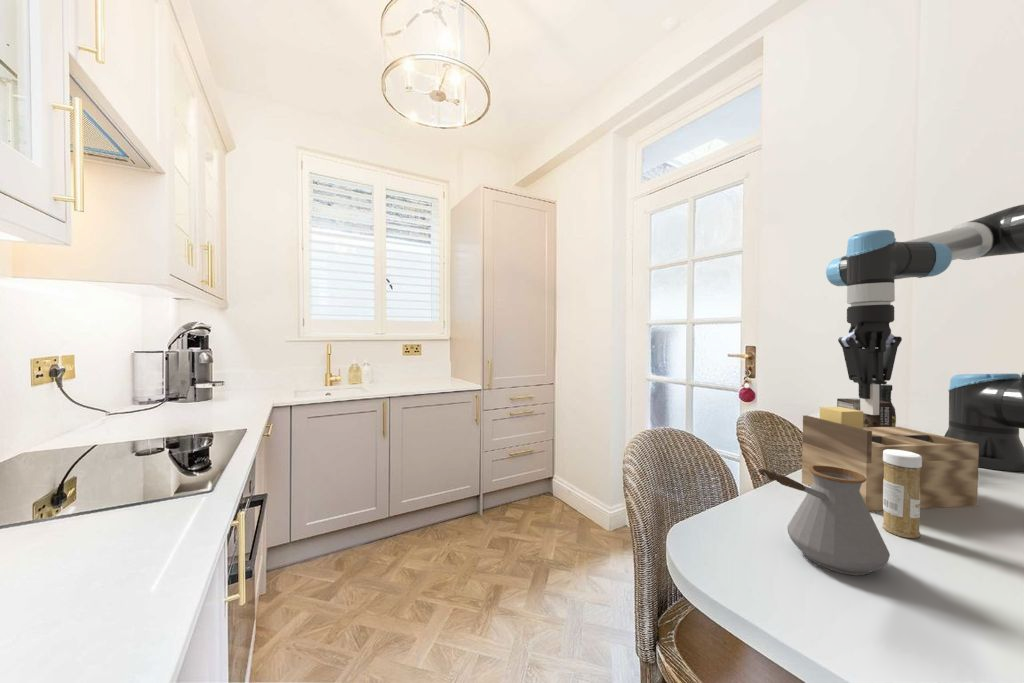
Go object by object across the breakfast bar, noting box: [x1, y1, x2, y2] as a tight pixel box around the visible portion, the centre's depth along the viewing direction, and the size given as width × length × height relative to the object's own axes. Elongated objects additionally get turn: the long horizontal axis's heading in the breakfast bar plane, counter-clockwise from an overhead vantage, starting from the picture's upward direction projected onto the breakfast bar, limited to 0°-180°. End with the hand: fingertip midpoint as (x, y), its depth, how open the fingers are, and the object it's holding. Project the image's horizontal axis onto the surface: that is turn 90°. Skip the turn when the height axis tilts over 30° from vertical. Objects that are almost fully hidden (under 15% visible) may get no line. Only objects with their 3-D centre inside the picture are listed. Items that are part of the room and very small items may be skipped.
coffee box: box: [836, 398, 893, 427], centre depth 100 cm, size 9×6×16 cm
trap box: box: [801, 415, 979, 512], centre depth 80 cm, size 24×14×15 cm, turn 96°
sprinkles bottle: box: [881, 449, 922, 539], centre depth 64 cm, size 5×5×14 cm
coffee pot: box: [750, 465, 891, 576], centre depth 55 cm, size 21×12×15 cm, turn 108°
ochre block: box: [819, 406, 863, 429], centre depth 83 cm, size 5×5×5 cm
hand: (869, 413), depth 83 cm, fingers closed
